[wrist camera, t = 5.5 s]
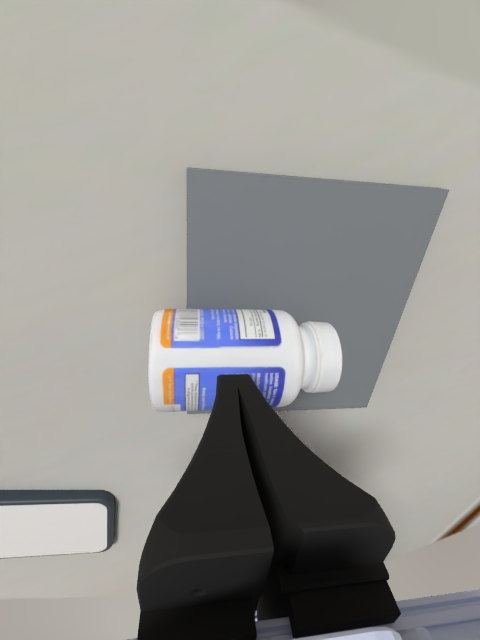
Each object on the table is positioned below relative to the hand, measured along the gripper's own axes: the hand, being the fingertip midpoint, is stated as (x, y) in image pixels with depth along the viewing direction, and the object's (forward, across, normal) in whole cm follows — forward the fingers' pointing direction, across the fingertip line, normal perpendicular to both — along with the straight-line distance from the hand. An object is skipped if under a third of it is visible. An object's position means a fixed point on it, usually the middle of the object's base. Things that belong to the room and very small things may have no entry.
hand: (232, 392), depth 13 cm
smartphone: (+8, +17, +21) cm, 28 cm away
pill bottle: (+4, +4, +1) cm, 6 cm away
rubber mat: (+7, -5, 0) cm, 9 cm away
